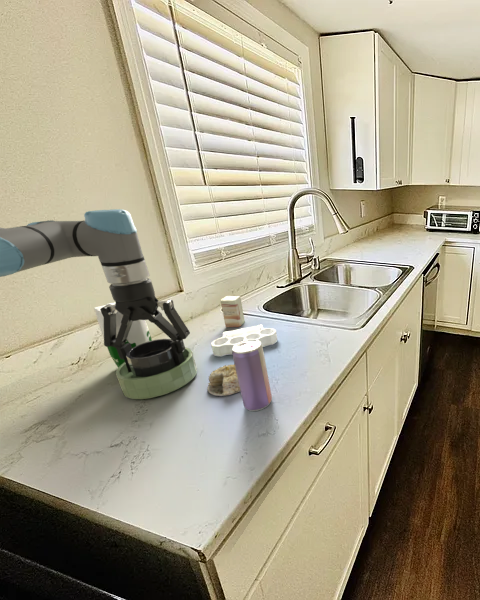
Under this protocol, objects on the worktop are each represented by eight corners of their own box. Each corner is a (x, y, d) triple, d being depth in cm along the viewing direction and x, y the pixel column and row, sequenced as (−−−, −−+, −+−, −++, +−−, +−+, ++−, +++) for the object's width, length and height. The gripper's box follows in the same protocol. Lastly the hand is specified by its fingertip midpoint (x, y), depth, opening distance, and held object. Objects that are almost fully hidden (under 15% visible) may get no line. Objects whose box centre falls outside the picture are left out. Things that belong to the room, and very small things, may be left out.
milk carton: (163, 363, 91) (142, 296, 84) (123, 378, 84) (97, 307, 77) (150, 354, 96) (129, 290, 88) (112, 368, 89) (86, 300, 82)
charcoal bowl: (122, 377, 77) (115, 357, 75) (156, 356, 86) (150, 337, 84) (159, 380, 76) (152, 360, 74) (190, 358, 85) (184, 339, 83)
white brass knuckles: (272, 328, 111) (280, 347, 99) (213, 341, 103) (213, 363, 91) (271, 319, 109) (279, 337, 97) (210, 331, 101) (211, 352, 89)
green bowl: (106, 398, 76) (97, 377, 74) (160, 363, 91) (154, 344, 88) (165, 404, 74) (158, 382, 72) (210, 367, 89) (205, 347, 87)
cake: (234, 371, 88) (231, 353, 86) (260, 381, 83) (259, 362, 82) (198, 389, 79) (194, 369, 77) (225, 401, 75) (223, 380, 73)
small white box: (225, 327, 112) (219, 300, 109) (231, 322, 116) (225, 295, 113) (240, 327, 112) (234, 300, 109) (245, 321, 116) (240, 295, 113)
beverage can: (259, 415, 71) (247, 354, 65) (238, 408, 73) (224, 349, 67) (277, 398, 76) (267, 341, 70) (257, 393, 78) (246, 337, 72)
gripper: (58, 290, 67) (95, 381, 75) (178, 282, 72) (201, 368, 80) (82, 279, 74) (114, 364, 82) (191, 272, 79) (211, 353, 87)
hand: (157, 366), depth 81 cm, fingers closed on charcoal bowl, 10 cm apart
